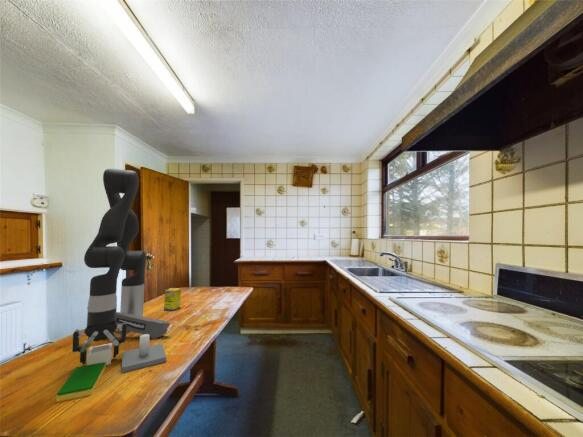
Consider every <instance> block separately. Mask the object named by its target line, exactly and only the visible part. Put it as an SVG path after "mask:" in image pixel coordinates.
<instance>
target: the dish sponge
mask: <svg viewBox="0 0 583 437" xmlns="http://www.w3.org/2000/svg"><path fill="white" fill-rule="evenodd" d="M105 364H106V363H105V362H104V363H98V364H92V365H87V364H86V365H81V366H76V367H75V369H74V370H73V371H72V372H71V374H70V375H69V377H68V378H67V380H66V381H65V382H64V383H63V385H62V386H61V387H60V389H58V391H57V393H56V402H57V403H59V402H64V401H68V400H73V399H77V398H83V397H87V396H91V395H93V393H94V391H95V389H96V387H97V386H98V383H99V382H100V380H101V379H102V376H103V374H104V372H105V370H106V366H107V365H105Z"/></svg>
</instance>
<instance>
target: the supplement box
mask: <svg viewBox="0 0 583 437" xmlns="http://www.w3.org/2000/svg"><path fill="white" fill-rule="evenodd" d="M181 292H182V288H177V287H170V288H168V289H165V290H164V299H163V300H164V301H163V302H164V303H163V304H164V305H163V311H168V312H169V311H170V312H175V311H177V310H179V309H180V308H181Z"/></svg>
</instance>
